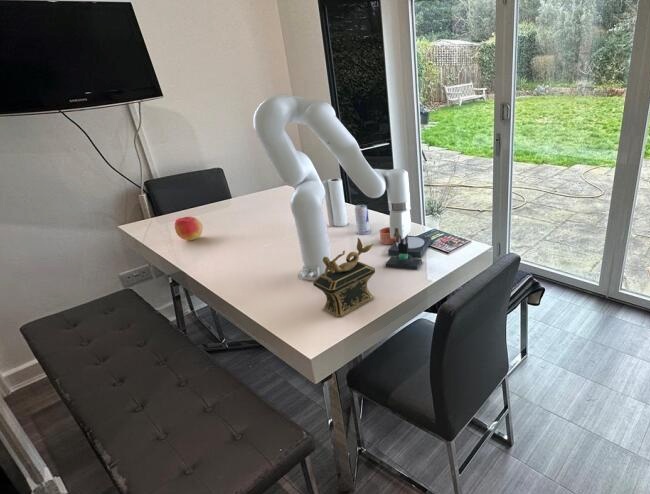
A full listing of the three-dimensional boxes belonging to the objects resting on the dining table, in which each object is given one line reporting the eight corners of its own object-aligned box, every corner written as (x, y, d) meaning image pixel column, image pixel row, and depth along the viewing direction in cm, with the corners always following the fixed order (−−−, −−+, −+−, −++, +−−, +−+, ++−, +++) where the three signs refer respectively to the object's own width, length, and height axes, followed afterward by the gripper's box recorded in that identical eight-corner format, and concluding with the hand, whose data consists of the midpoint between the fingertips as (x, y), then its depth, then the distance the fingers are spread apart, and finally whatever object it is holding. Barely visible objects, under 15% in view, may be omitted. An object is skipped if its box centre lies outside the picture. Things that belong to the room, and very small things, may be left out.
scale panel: (417, 270, 146) (416, 262, 145) (385, 267, 149) (384, 259, 147) (422, 262, 152) (421, 255, 151) (391, 259, 154) (390, 252, 153)
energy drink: (371, 230, 182) (368, 204, 177) (367, 234, 177) (364, 208, 172) (359, 229, 182) (356, 204, 178) (355, 234, 178) (352, 208, 173)
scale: (420, 258, 155) (420, 251, 154) (388, 255, 158) (388, 249, 157) (431, 242, 169) (431, 236, 168) (401, 240, 171) (401, 234, 170)
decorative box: (336, 321, 118) (326, 260, 110) (316, 310, 123) (305, 251, 115) (387, 292, 132) (382, 237, 124) (368, 284, 138) (361, 230, 130)
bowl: (394, 245, 166) (393, 234, 164) (378, 244, 167) (376, 233, 165) (400, 239, 172) (399, 227, 170) (384, 237, 174) (383, 226, 172)
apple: (190, 244, 169) (183, 222, 165) (173, 242, 172) (166, 220, 168) (210, 236, 177) (204, 214, 173) (194, 233, 180) (187, 212, 176)
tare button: (406, 260, 148) (405, 256, 147) (397, 260, 148) (397, 256, 147) (409, 256, 150) (408, 253, 150) (400, 256, 151) (400, 252, 150)
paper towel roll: (350, 222, 191) (344, 178, 182) (343, 227, 185) (337, 181, 177) (336, 221, 192) (330, 177, 184) (329, 226, 187) (322, 180, 178)
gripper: (396, 198, 148) (400, 243, 156) (381, 211, 135) (386, 261, 142) (416, 199, 147) (419, 245, 154) (402, 213, 134) (407, 262, 141)
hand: (403, 252), depth 148 cm, fingers closed
